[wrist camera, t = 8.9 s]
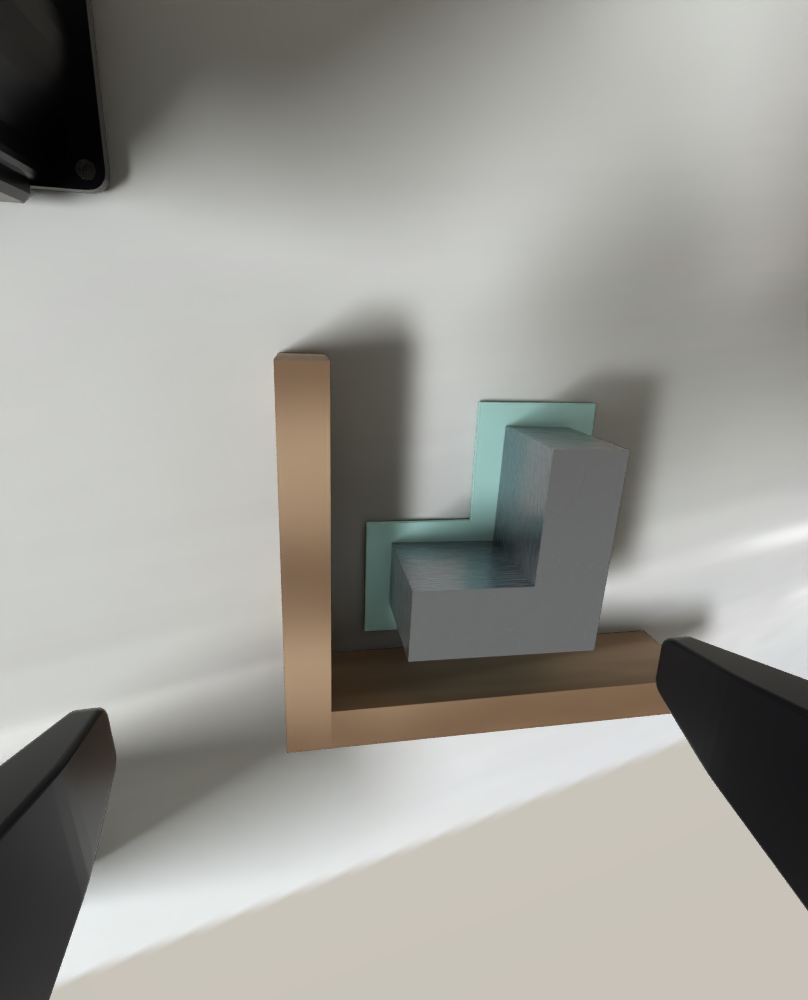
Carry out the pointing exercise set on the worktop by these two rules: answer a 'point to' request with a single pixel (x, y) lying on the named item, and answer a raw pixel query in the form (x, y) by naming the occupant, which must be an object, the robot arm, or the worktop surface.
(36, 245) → the worktop surface
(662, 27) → the worktop surface
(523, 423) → the mat
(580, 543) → the bracket
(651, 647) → the corner wall
